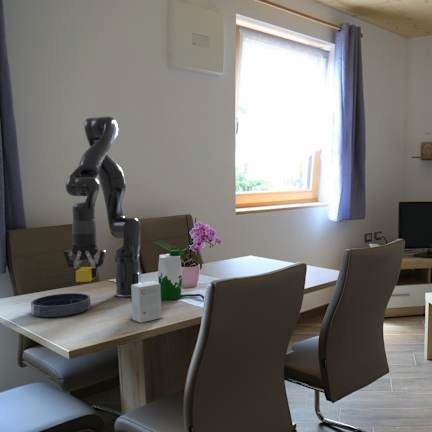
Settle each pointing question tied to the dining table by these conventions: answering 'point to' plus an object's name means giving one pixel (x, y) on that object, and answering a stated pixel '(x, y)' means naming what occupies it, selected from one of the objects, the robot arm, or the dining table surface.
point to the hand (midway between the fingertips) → (86, 278)
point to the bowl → (60, 305)
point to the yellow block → (84, 274)
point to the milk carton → (170, 275)
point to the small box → (146, 301)
